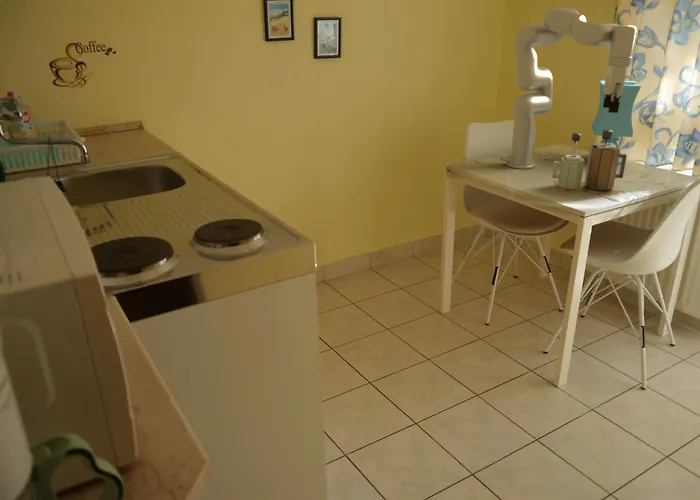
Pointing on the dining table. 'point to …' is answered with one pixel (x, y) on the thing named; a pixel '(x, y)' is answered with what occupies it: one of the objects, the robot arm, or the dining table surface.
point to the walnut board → (584, 189)
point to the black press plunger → (606, 136)
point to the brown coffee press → (603, 167)
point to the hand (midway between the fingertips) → (610, 109)
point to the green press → (569, 171)
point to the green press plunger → (575, 141)
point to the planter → (616, 114)
